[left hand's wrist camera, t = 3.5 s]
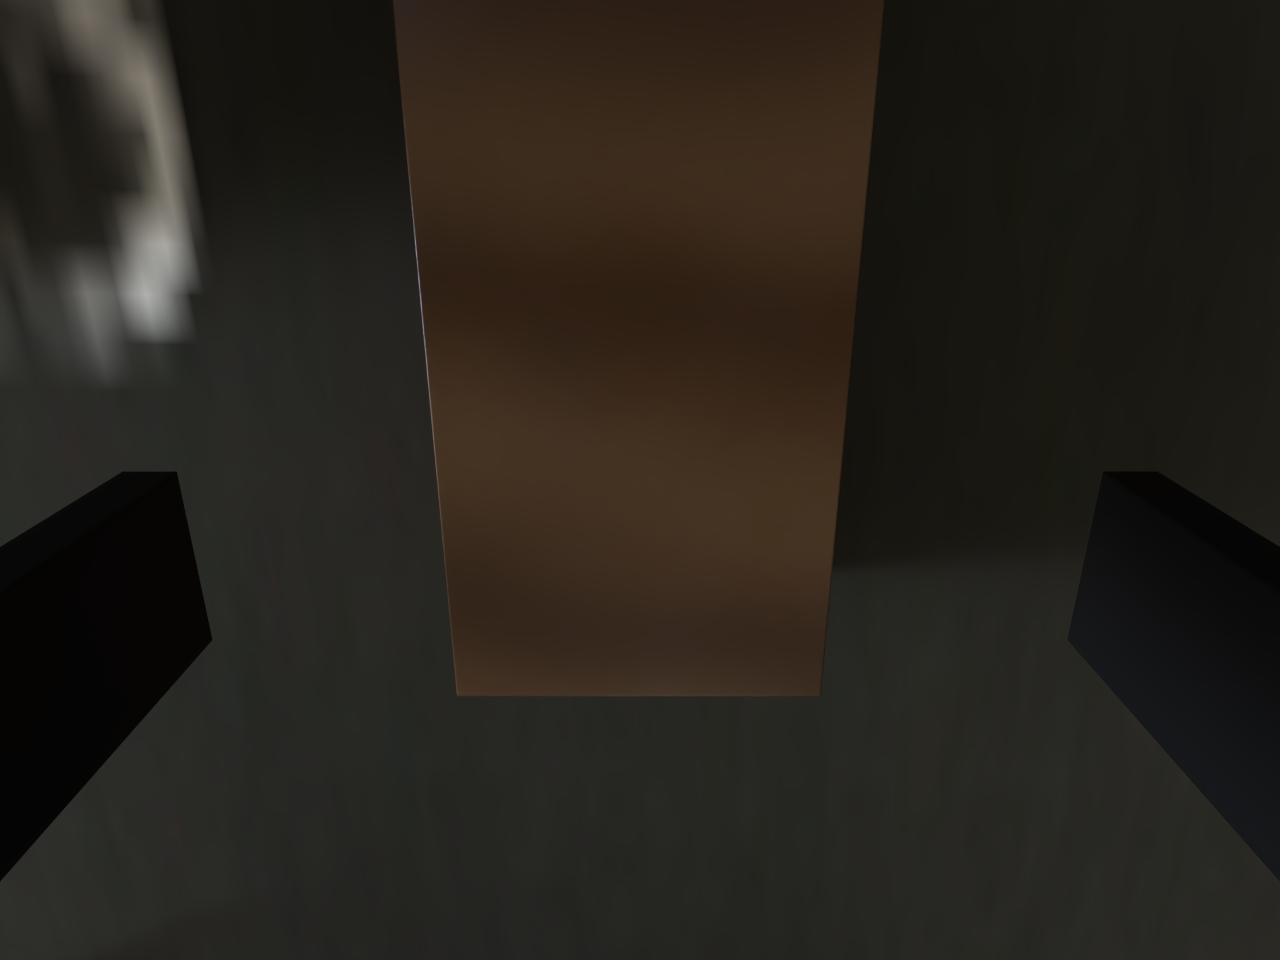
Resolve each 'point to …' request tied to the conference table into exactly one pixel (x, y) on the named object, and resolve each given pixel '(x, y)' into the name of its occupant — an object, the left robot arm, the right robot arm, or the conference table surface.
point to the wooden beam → (638, 330)
